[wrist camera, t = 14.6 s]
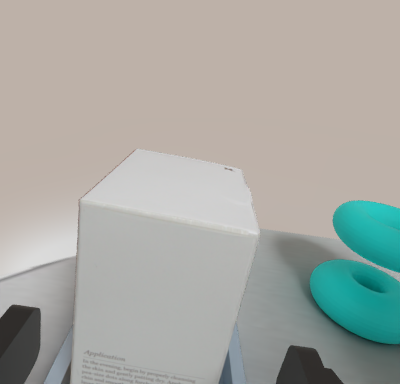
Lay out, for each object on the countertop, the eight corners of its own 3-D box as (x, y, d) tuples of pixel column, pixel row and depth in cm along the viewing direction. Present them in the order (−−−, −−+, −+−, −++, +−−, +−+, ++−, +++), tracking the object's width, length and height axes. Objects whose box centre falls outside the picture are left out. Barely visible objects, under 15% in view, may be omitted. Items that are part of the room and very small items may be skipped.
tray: (225, 325, 25) (232, 299, 24) (251, 547, 13) (267, 513, 12) (92, 306, 24) (95, 279, 23) (-6, 525, 12) (-8, 487, 12)
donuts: (343, 188, 33) (453, 221, 29) (314, 266, 37) (409, 305, 33) (333, 214, 25) (487, 267, 21) (296, 313, 28) (422, 374, 24)
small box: (114, 324, 22) (135, 145, 18) (202, 340, 22) (245, 167, 18) (60, 453, 14) (74, 196, 10) (195, 476, 15) (268, 233, 10)
